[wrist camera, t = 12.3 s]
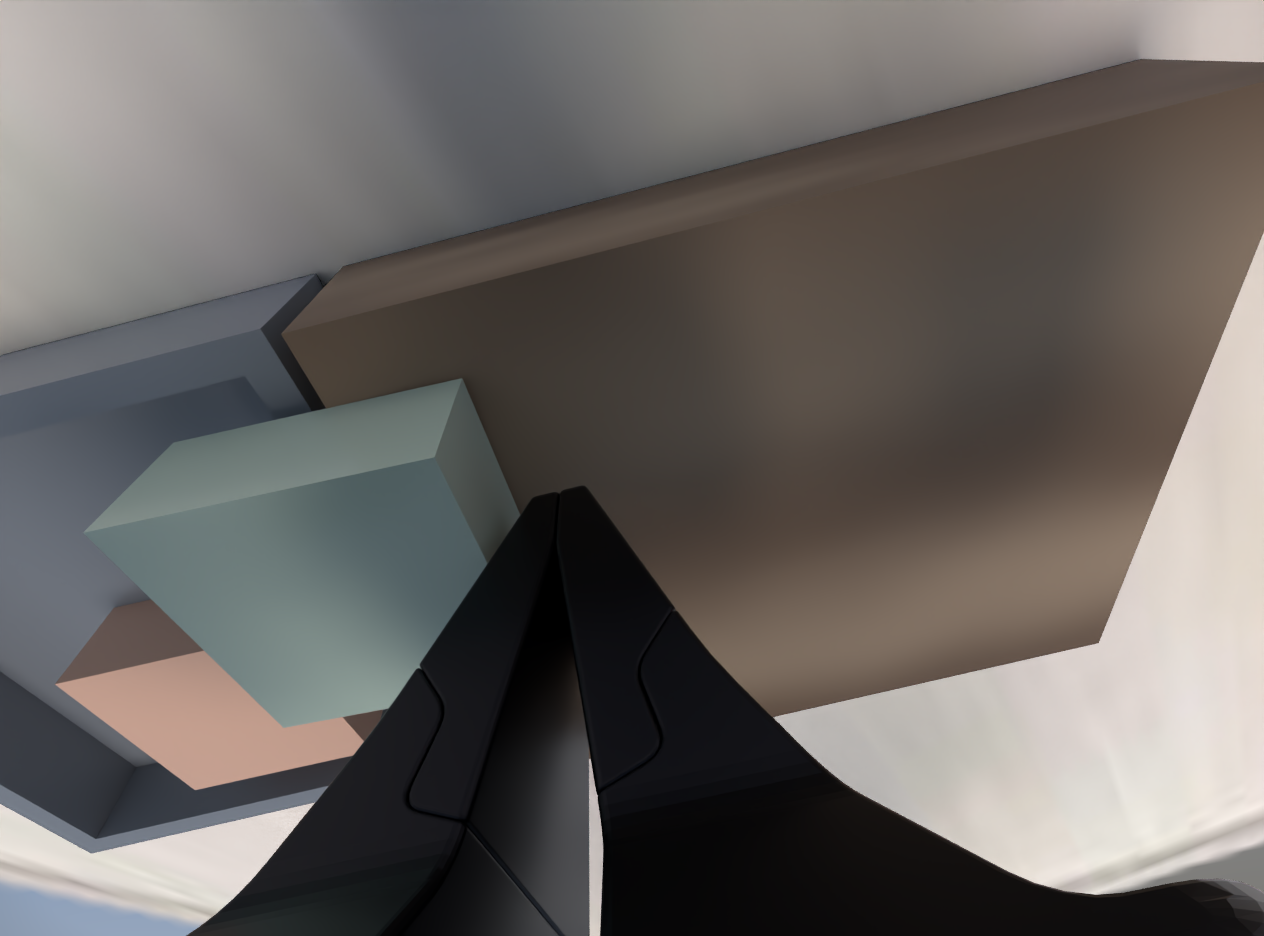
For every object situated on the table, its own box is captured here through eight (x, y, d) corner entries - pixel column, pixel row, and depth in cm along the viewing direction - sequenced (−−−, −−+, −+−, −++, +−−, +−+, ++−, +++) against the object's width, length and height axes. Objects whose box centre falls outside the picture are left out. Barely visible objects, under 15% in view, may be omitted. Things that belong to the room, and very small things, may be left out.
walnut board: (1020, 557, 17) (1098, 643, 15) (545, 668, 18) (545, 768, 15) (1141, 58, 10) (1330, 64, 8) (342, 266, 10) (281, 333, 8)
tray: (529, 671, 18) (526, 754, 16) (142, 762, 18) (91, 853, 16) (315, 273, 10) (259, 328, 8) (-312, 436, 11) (-506, 525, 9)
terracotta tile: (194, 790, 15) (230, 715, 16) (372, 750, 14) (390, 679, 16) (54, 684, 12) (113, 608, 14) (270, 635, 12) (304, 564, 13)
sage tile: (550, 586, 11) (545, 679, 10) (325, 630, 12) (284, 727, 10) (462, 378, 9) (434, 456, 7) (173, 442, 9) (83, 532, 7)
